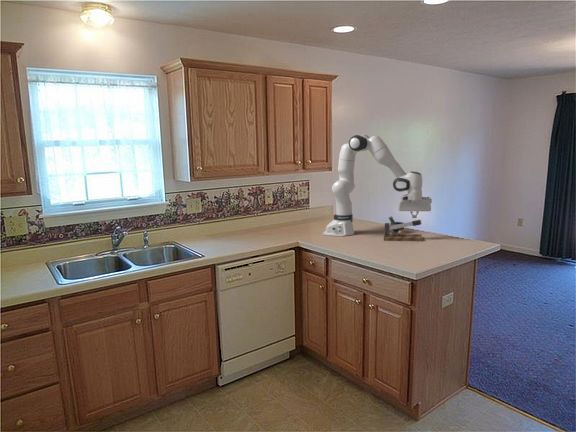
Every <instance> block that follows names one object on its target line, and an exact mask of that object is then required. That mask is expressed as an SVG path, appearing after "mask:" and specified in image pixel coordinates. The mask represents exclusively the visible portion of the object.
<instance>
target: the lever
mask: <svg viewBox="0 0 576 432" xmlns="http://www.w3.org/2000/svg"><path fill="white" fill-rule="evenodd" d="M402 223H403V224H397V225H392V226H390V225H389V230H390V231H391V230H392V229H397V228H402V227H404V228H406V227H416V226H420V225H422V220H421V219H415V220H412V221H408V222H402ZM392 231H393V230H392Z"/></svg>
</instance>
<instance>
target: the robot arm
mask: <svg viewBox="0 0 576 432" xmlns="http://www.w3.org/2000/svg"><path fill="white" fill-rule="evenodd" d="M367 150H368V151H369V152H370V154H371V156H372V157H373V158H374V160H375V161H376V162H377V163H378V164H380V165H382V166H385V167H387V168H388V169H389V170H390V171H391V172H392V173H393V175H394V176H395V177H396V178H395V179H393V181H392V187H393V189H394V190H395V191H397V192H399V193H400V192H401V193H402V192H407V194H403V195H401V196H400V199H399V203H398V211H399V212H409V213H410V214H411V219H417V218H418V215H419V212H431V211H432V202H433V199H432V198H431V197H430V196H423V189H422V188H423V176H422V174H421V172H419V171H409V172H407V173H406V172H405V171H404V169H403V167H401V165H400V164H399V162H398V161H397V159H395V157H394V155H393V154H392V152H391V150H390V149H389V147H388V145H387V144H386V142H384V140H383V139H382V138H381V137H380V136H379V135H373V136H368V135H366V134H355V135H353V136H351V137H350V138H349V140H348V142H347V143H344V144H342V145H341V147H340V151H339V155H338V165H337V172H338V180H336V181H335V182H334V183H333V184H332V186H331V192H332V193H333V195H334V200H335V211H336V212H335V213H333V219H332V220H331V221H330V222H329V223H328V224H327V225H326V227H325V230H324V231H323V232H322V235H323V236H329V237H330V236H331V237H332V236H333V237H347V236H353V235H355V230H354V223H353V222H354V218H353V217H354V215H353V204H352V201H351V197H350V194H351V193H352V192H353V191H354V189H355V187H356V186H355V175H354V170H355V161H356V155H357V153H359V152H364V151H367ZM414 212H415V213H416V214H413V213H414Z"/></svg>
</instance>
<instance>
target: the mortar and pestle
mask: <svg viewBox="0 0 576 432" xmlns="http://www.w3.org/2000/svg"><path fill="white" fill-rule="evenodd" d="M388 220H389V221H390V222H389V226H392V225H397V224H403V223H404V222H402V221H401V222H400V221H395V219H394V218H393V216H389V217H388ZM400 229H402V230H404V229H405V227H402V228H397V229H392V234H398V231H399V230H400Z"/></svg>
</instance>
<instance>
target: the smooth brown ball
mask: <svg viewBox="0 0 576 432" xmlns="http://www.w3.org/2000/svg"><path fill="white" fill-rule="evenodd" d="M404 234H406V233H405V230H404V229H403V230H402V229H400V230H399V231H398V235H399V236H403V235H404Z"/></svg>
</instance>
